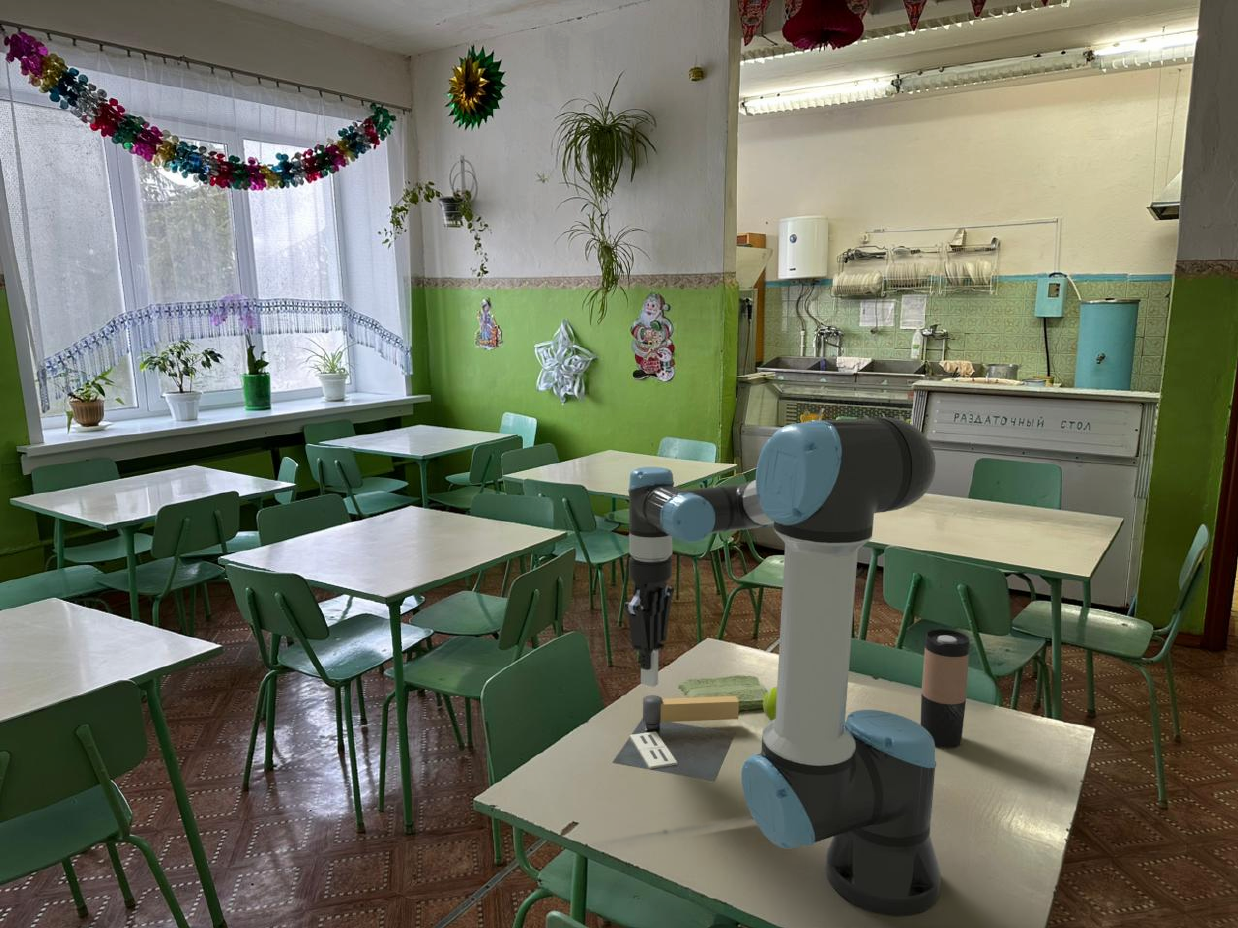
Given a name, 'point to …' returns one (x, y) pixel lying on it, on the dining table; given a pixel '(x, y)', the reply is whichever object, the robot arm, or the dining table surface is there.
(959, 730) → the travel mug
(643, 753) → the label
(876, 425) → the robot arm
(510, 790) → the dining table surface
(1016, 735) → the dining table surface
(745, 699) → the washcloth
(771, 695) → the tennis ball
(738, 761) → the dining table surface
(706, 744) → the chassis plate
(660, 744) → the label
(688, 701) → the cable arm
